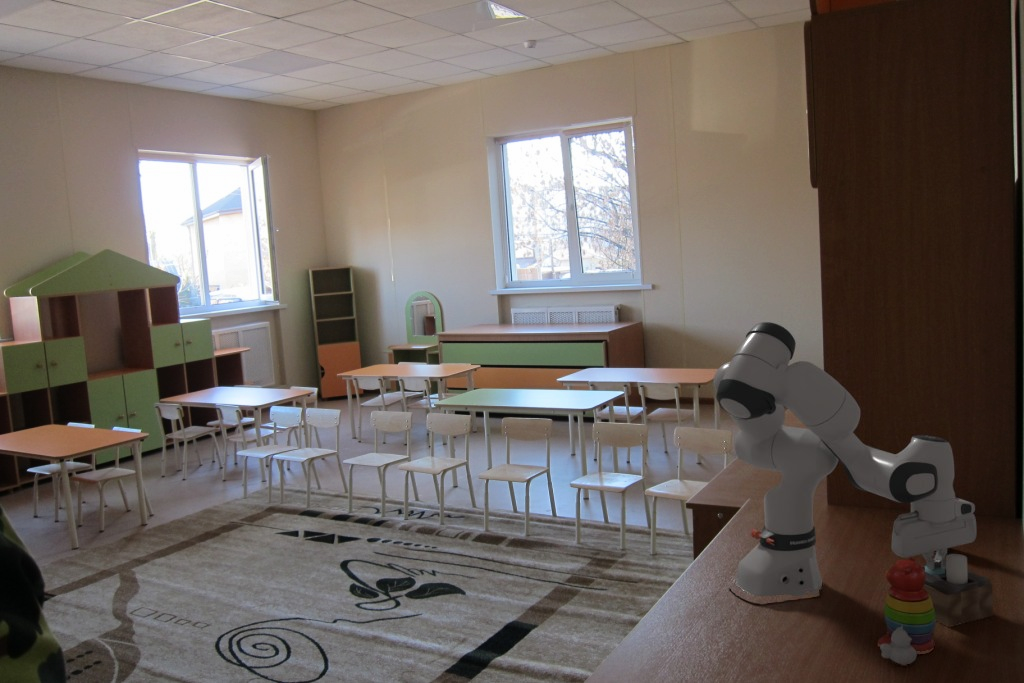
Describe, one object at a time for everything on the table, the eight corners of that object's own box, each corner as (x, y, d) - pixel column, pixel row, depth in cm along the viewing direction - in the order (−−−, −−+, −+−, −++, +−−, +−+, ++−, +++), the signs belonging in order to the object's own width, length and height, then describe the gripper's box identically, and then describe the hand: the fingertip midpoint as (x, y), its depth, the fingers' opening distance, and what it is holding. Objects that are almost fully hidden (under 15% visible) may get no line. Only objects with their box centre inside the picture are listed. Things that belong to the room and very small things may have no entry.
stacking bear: (890, 628, 181) (887, 547, 179) (942, 639, 175) (939, 555, 173) (874, 649, 173) (871, 565, 171) (928, 662, 167) (925, 574, 165)
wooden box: (948, 627, 180) (947, 591, 179) (902, 604, 192) (901, 570, 191) (993, 615, 183) (992, 579, 182) (945, 593, 195) (944, 559, 194)
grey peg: (957, 598, 181) (956, 562, 181) (942, 591, 185) (941, 556, 184) (972, 594, 183) (971, 558, 182) (957, 587, 186) (956, 552, 185)
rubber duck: (920, 670, 164) (919, 630, 163) (884, 670, 165) (882, 630, 164) (912, 656, 169) (911, 618, 168) (877, 656, 171) (875, 618, 170)
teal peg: (935, 607, 188) (934, 573, 187) (921, 601, 192) (920, 566, 191) (950, 604, 189) (949, 569, 188) (936, 597, 193) (935, 563, 192)
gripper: (904, 520, 182) (907, 582, 183) (981, 503, 188) (982, 564, 189) (883, 512, 188) (885, 572, 189) (958, 496, 194) (959, 554, 195)
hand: (934, 568), depth 189 cm, fingers closed, pressing on teal peg
